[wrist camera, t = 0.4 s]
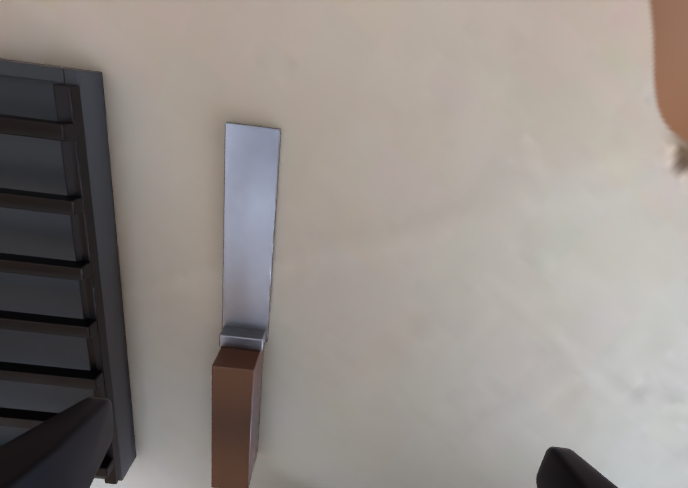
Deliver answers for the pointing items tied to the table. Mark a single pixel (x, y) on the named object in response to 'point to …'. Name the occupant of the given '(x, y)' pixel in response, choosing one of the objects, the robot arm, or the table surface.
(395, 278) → the table surface
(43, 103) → the dish rack
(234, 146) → the knife
